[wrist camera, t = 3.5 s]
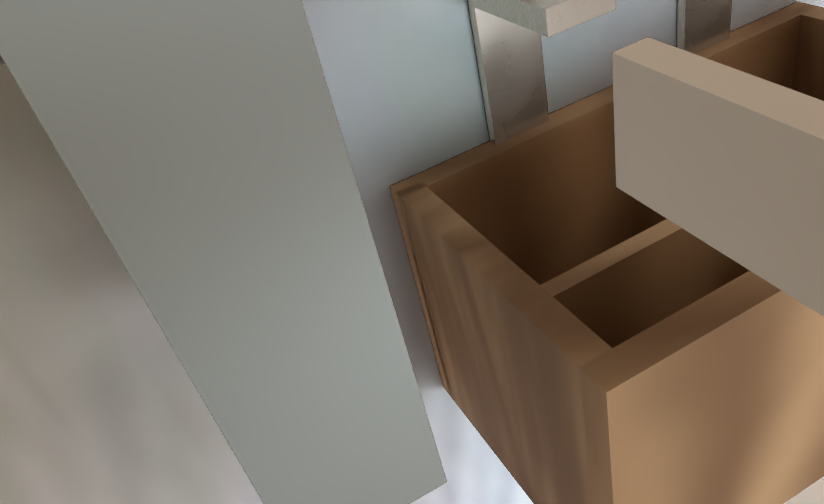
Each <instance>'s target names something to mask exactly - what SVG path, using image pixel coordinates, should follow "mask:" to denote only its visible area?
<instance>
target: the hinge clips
mask: <svg viewBox="0 0 824 504" xmlns="http://www.w3.org/2000/svg"><path fill="white" fill-rule="evenodd" d="M731 5H732V0H678V17H677V48H679V49H682V50H685V51H688V52H690V53H693V54H696V53H699V52H701V51H703V50H705V49H707V48H710V47H712V46H714V45H716V44H718V43H721V42H723V41H725V40H727V39H729V36H730V20H731ZM468 6H469V12H470V18H471V24H472V31H473V37H474V43H475V49H476V56H477V62H478V68H479V74H480V80H481V87H482V93H483V99H484V105H485V111H486V118H487V124H488V130H489V136H490V141H491V142H493V143H494V144H499V143H501V142H503V141H505V140H507V139H510V138H512V137H514V136H516V135H518V134H521V133H523V132H525V131H527V130H529V129H532V128H534V127H536V126H538V125H540V124H543V123H545V122H547V121H549V114H548V105H547V95H546V85H545V75H544V65H543V56H542V46H541V36H540V34H541V35H544V36H546V37H550V36H552V35H555V34H557V33H559V32H562V31H564V30H567V29H569V28H571V27H574V26H576V25H579V24H581V23H583V22H586V21H588V20H590V19H593V18H595V17H598V16H600V15H602V14H605V13H607V12H609V11H612V10H614V9H616V0H468Z"/></svg>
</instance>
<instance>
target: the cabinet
mask: <svg viewBox="0 0 824 504" xmlns="http://www.w3.org/2000/svg"><path fill="white" fill-rule="evenodd" d="M696 55H698V56H701V57H704V58H707V59H709V60H712V61H715V62H718V63H720V64H723V65H726V66H729V67H731V68H734V69H737V70H740V71H742V72H745V73H748V74H751V75H753V76H756V77H759V78H762V79H764V80H767V81H770V82H773V83H775V84H778V85H781V86H784V87H786V88H789V89H792V90H795V91H797V92H800V93H803V94H806V95H808V96H811V97H814V98H817V99H819V100H822V101H824V8H823V7H819V6H814V5H810V4H806V3H801V2H796V3H794V4H792V5H790V6H787V7H785V8H783V9H781V10H779V11H776V12H774V13H772V14H770V15H768V16H765V17H763V18H761V19H759V20H756V21H754V22H752V23H750V24H748V25H745V26H743V27H741V28H739V29H737V30H734V31H732V32H730V36H729V39H727V40H725V41H723V42H721V43H718V44H716V45H714V46H712V47H710V48H707V49H705V50H703V51H701V52H699V53H696ZM390 189H391V193H392V197H393V201H394V204H395V208H396V212H397V215H398V219H399V223H400V226H401V230H402V234H403V238H404V241H405V245H406V249H407V252H408V256H409V260H410V263H411V267H412V271H413V275H414V278H415V282H416V286H417V289H418V293H419V297H420V300H421V304H422V308H423V312H424V315H425V319H426V323H427V326H428V330H429V334H430V337H431V341H432V345H433V349H434V352H435V356H436V360H437V363H438V367H439V371H440V374H441V378H442V382H443V386H444V388H445V390H446V391H447V392H448V393H449V395H450V396H451V397H452V399H453V400H454V401H455V402H456V404H457V405H458V406H459V408H460V409H461V410H462V412H463V413H464V414H465V415H466V417H467V418H468V419H469V421H470V422H471V423H472V424H473V426H474V427H475V428H476V430H477V431H478V432H479V433H480V435H481V436H482V437H483V439H484V440H485V441H486V442H487V444H488V445H489V446H490V448H491V449H492V450H493V452H494V453H495V454H496V455H497V457H498V458H499V459H500V461H501V462H502V463H503V464H504V466H505V467H506V468H507V470H508V471H509V472H510V473H511V475H512V476H513V477H514V479H515V480H516V481H517V482H518V484H519V485H520V486H521V488H522V489H523V490H524V492H525V493H526V494H527V495H528V497H529V498H530V499H531V501H532V502H533V503H534V504H784V503H785V502H787V501H788V500H790V499H791V498H793V497H794V496H796V495H797V494H799V493H800V492H802V491H803V490H804V489H806V488H807V487H809V486H810V485H812V484H813V483H815V482H816V481H818V480H819V479H821V478H822V477H823V476H824V317H823V316H822V315H820V314H818V313H817V312H815V311H814V310H812V309H810V308H809V307H807V306H806V305H804V304H802V303H801V302H799V301H798V300H796V299H794V298H793V297H791V296H790V295H788V294H786V293H785V292H783V291H782V290H780V289H778V288H777V287H775V286H774V285H772V284H770V283H769V282H767V281H766V280H764V279H762V278H761V277H759V276H758V275H756V274H754V273H753V272H751V271H750V270H748V269H746V268H745V267H743V266H742V265H740V264H739V263H737V262H735V261H734V260H732V259H731V258H729V257H727V256H726V255H724V254H723V253H721V252H719V251H718V250H716V249H715V248H713V247H711V246H710V245H708V244H707V243H705V242H703V241H702V240H700V239H699V238H697V237H695V236H694V235H692V234H691V233H689V232H687V231H686V230H684V229H683V228H681V227H679V226H678V225H676V224H675V223H673V222H671V221H670V220H668V219H667V218H665V217H663V216H662V215H660V214H659V213H657V212H656V211H654V210H652V209H651V208H649V207H648V206H646V205H644V204H643V203H641V202H640V201H638V200H636V199H635V198H633V197H632V196H630V195H628V194H627V193H625V192H624V191H622V190H620V189H619V188H617V187H616V166H615V134H614V102H613V86H611V87H608V88H606V89H604V90H602V91H600V92H597V93H595V94H593V95H591V96H589V97H586V98H584V99H582V100H580V101H577V102H575V103H573V104H571V105H569V106H566V107H564V108H562V109H560V110H558V111H555V112H553V113H551V114H549V121H547V122H545V123H543V124H540V125H538V126H536V127H534V128H532V129H529V130H527V131H525V132H523V133H521V134H518V135H516V136H514V137H512V138H510V139H507V140H505V141H503V142H501V143H499V144H494V143H493V142H491V141H489V142H487V143H485V144H482V145H480V146H478V147H476V148H474V149H471V150H469V151H467V152H465V153H463V154H460V155H458V156H456V157H454V158H452V159H449V160H447V161H445V162H443V163H440V164H438V165H436V166H434V167H432V168H429V169H427V170H425V171H423V172H421V173H418V174H416V175H414V176H412V177H410V178H407V179H405V180H403V181H401V182H398V183H396V184H394V185H392V186H390Z"/></svg>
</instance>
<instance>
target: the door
mask: <svg viewBox="0 0 824 504" xmlns="http://www.w3.org/2000/svg"><path fill="white" fill-rule="evenodd" d="M2 63H5V64H6V65H7V67H8V69H9V70H10V72H11V74H12V75H13V77H14V79H15V81H16V82H17V84H18V86H19V87H20V89H21V91H22V93H23V94H24V96H25V98H26V99H27V101H28V103H29V104H30V106H31V108H32V110H33V111H34V113H35V115H36V116H37V118H38V120H39V122H40V123H41V125H42V127H43V128H44V130H45V132H46V133H47V135H48V137H49V139H50V140H51V142H52V144H53V145H54V147H55V149H56V150H57V152H58V154H59V156H60V157H61V159H62V161H63V162H64V164H65V166H66V168H67V169H68V171H69V173H70V174H71V176H72V178H73V179H74V181H75V183H76V185H77V186H78V188H79V190H80V191H81V193H82V195H83V197H84V198H85V200H86V202H87V203H88V205H89V207H90V208H91V210H92V212H93V214H94V215H95V217H96V219H97V220H98V222H99V224H100V226H101V227H102V229H103V231H104V232H105V234H106V236H107V237H108V239H109V241H110V243H111V244H112V246H113V248H114V249H115V251H116V253H117V255H118V256H119V258H120V260H121V261H122V263H123V265H124V266H125V268H126V270H127V272H128V273H129V275H130V277H131V278H132V280H133V282H134V283H135V285H136V287H137V289H138V290H139V292H140V294H141V295H142V297H143V299H144V301H145V302H146V304H147V306H148V307H149V309H150V311H151V312H152V314H153V316H154V318H155V319H156V321H157V323H158V324H159V326H160V328H161V330H162V331H163V333H164V335H165V336H166V338H167V340H168V341H169V343H170V345H171V347H172V348H173V350H174V352H175V353H176V355H177V357H178V359H179V360H180V362H181V364H182V365H183V367H184V369H185V370H186V372H187V374H188V376H189V377H190V379H191V381H192V382H193V384H194V386H195V388H196V389H197V391H198V393H199V394H200V396H201V398H202V399H203V401H204V403H205V405H206V406H207V408H208V410H209V411H210V413H211V415H212V416H213V418H214V420H215V422H216V423H217V425H218V427H219V428H220V430H221V432H222V434H223V435H224V437H225V439H226V440H227V442H228V444H229V445H230V447H231V449H232V451H233V452H234V454H235V456H236V457H237V459H238V461H239V463H240V464H241V466H242V468H243V469H244V471H245V473H246V474H247V476H248V478H249V480H250V481H251V483H252V485H253V486H254V488H255V490H256V492H257V493H258V495H259V497H260V498H261V500H262V502H263V503H264V504H410V503H412V502H413V501H415V500H417V499H419V498H420V497H422V496H424V495H425V494H427V493H429V492H431V491H432V490H434V489H436V488H437V487H439V486H441V485H443V484H444V483H446V482H447V480H446V477H445V473H444V470H443V467H442V464H441V460H440V457H439V454H438V450H437V447H436V444H435V440H434V437H433V434H432V430H431V427H430V424H429V421H428V417H427V414H426V411H425V407H424V404H423V401H422V397H421V394H420V391H419V388H418V384H417V381H416V378H415V374H414V371H413V368H412V364H411V361H410V358H409V355H408V351H407V348H406V345H405V341H404V338H403V335H402V331H401V328H400V325H399V321H398V318H397V315H396V312H395V308H394V305H393V302H392V298H391V295H390V292H389V288H388V285H387V282H386V279H385V275H384V272H383V269H382V265H381V262H380V259H379V255H378V252H377V249H376V246H375V242H374V239H373V236H372V232H371V229H370V226H369V222H368V219H367V216H366V212H365V209H364V206H363V203H362V199H361V196H360V193H359V189H358V186H357V183H356V179H355V176H354V173H353V170H352V166H351V163H350V160H349V156H348V153H347V150H346V146H345V143H344V140H343V137H342V133H341V130H340V127H339V123H338V120H337V117H336V113H335V110H334V107H333V104H332V100H331V97H330V94H329V90H328V87H327V84H326V80H325V77H324V74H323V70H322V67H321V64H320V61H319V57H318V54H317V51H316V47H315V44H314V41H313V37H312V34H311V31H310V28H309V24H308V21H307V18H306V14H305V11H304V8H303V4H302V1H301V0H0V64H2Z"/></svg>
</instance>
